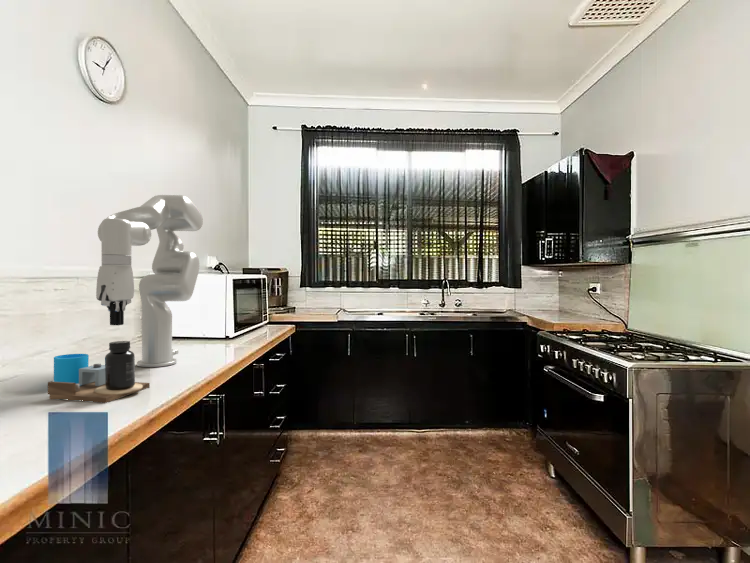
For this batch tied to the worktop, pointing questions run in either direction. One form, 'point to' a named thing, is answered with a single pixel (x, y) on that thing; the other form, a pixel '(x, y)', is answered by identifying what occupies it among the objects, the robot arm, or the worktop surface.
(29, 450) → the worktop surface
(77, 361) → the mug
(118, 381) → the supplement bottle
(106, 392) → the board
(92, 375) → the cover
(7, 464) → the worktop surface
